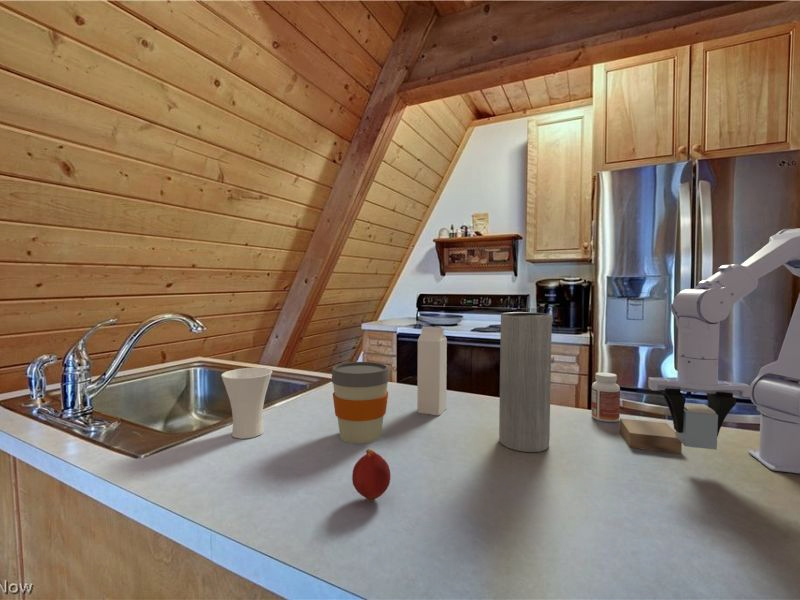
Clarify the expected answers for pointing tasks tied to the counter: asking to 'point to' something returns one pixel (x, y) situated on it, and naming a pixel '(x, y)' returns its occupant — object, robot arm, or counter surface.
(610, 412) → the pill bottle
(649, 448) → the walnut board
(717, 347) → the robot arm
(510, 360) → the vase
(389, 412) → the counter surface
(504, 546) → the counter surface
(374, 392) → the reusable coffee cup
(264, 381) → the cup
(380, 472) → the onion
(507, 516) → the counter surface
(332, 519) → the counter surface
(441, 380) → the milk
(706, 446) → the blue block cream face
